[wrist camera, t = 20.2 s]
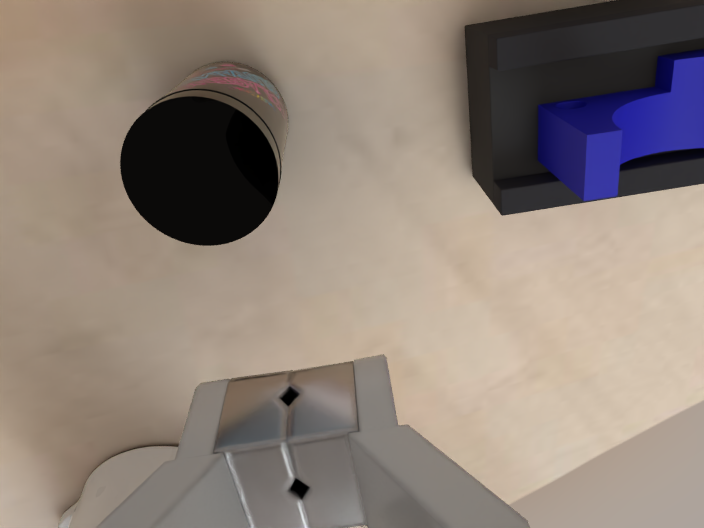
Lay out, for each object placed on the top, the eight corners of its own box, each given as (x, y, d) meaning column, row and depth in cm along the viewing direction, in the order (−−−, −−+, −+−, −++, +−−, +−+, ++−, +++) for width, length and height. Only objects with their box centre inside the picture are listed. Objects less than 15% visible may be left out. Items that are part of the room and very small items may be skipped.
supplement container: (313, 120, 34) (311, 177, 25) (237, 194, 36) (209, 273, 27) (227, 32, 32) (189, 58, 22) (150, 116, 34) (86, 173, 24)
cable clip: (778, 37, 28) (883, 53, 23) (760, 126, 31) (854, 159, 25) (538, 74, 29) (588, 99, 23) (537, 160, 31) (583, 201, 25)
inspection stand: (724, 136, 36) (802, 168, 30) (472, 176, 36) (501, 216, 31) (749, -22, 32) (845, -20, 26) (464, 25, 32) (496, 38, 26)
